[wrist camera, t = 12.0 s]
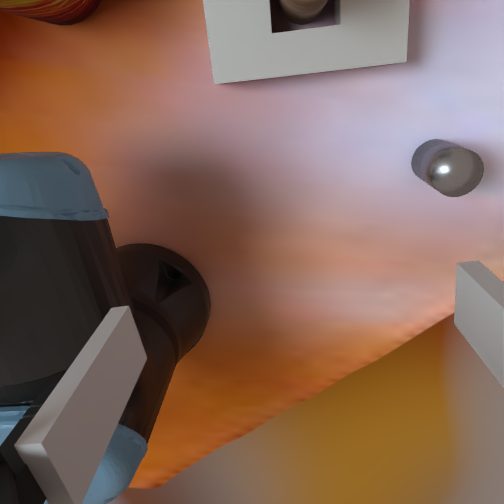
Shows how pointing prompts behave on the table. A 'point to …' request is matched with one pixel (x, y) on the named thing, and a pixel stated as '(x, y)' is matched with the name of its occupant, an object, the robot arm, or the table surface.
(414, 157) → the cylinder
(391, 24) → the socket block
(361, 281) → the table surface
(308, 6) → the walnut dowel
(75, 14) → the mug
